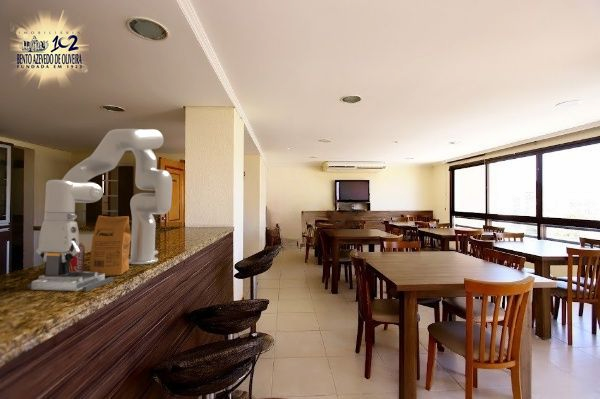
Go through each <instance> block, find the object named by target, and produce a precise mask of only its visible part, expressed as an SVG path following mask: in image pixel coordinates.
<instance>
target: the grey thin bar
mask: <svg viewBox="0 0 600 399" xmlns="http://www.w3.org/2000/svg"><path fill="white" fill-rule="evenodd" d="M114 280H115V278H114V276H108V277H107V278H105V279H104V280H101V281H98V282H96V283H93V284H90V285H87V286H85V287H83V289H81V290H82V292H88V291H90V290H93V289H96V288H98V287H101V286H104V285H106V284H108V283H112V282H114Z"/></svg>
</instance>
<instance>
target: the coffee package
mask: <svg viewBox="0 0 600 399" xmlns="http://www.w3.org/2000/svg"><path fill="white" fill-rule="evenodd" d="M130 230H131V228H130V217H129V215H128V216H127V215H126V216H113V217H112V216H104V215H98V217H97V219H96V222H95V227H94V230H93V231H94V232H93V236H92V238H91V240H92V241H91V249H90V257H89V272H97V273H105V277H114V276H122V275H123V274H124V273H126V272H127V271H129V269H130V264H129V259H130V258H129V255H130V249H131V231H130Z"/></svg>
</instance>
